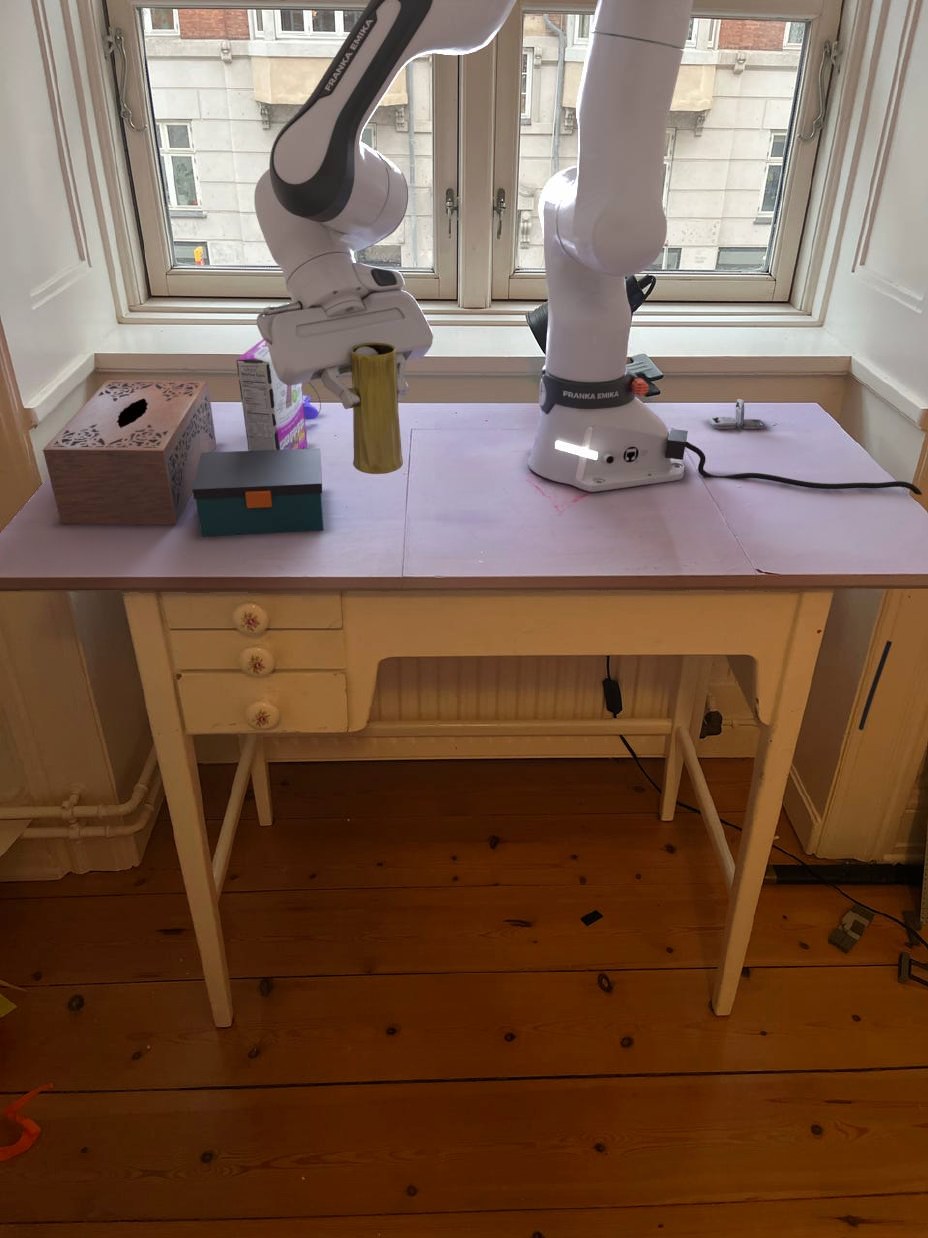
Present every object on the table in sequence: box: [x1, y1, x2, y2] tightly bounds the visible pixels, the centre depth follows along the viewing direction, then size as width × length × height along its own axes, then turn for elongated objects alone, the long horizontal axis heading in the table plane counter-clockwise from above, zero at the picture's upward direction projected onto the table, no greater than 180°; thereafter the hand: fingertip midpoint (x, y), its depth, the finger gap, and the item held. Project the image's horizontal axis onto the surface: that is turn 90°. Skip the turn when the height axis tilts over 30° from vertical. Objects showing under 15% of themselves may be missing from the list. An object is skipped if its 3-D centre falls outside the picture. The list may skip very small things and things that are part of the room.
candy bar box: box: [235, 338, 308, 451], centre depth 131 cm, size 11×5×16 cm, turn 168°
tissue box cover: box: [42, 379, 217, 525], centre depth 125 cm, size 26×14×10 cm, turn 1°
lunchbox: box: [192, 447, 324, 537], centre depth 119 cm, size 15×12×6 cm
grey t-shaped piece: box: [709, 398, 766, 430], centre depth 149 cm, size 8×3×4 cm, turn 94°
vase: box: [350, 343, 404, 475], centre depth 110 cm, size 6×6×14 cm
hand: (378, 399), depth 109 cm, fingers closed on vase, 5 cm apart
